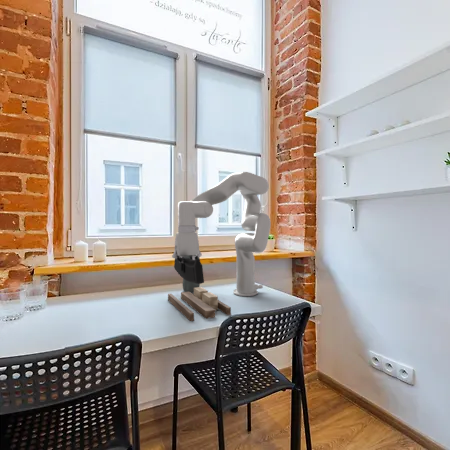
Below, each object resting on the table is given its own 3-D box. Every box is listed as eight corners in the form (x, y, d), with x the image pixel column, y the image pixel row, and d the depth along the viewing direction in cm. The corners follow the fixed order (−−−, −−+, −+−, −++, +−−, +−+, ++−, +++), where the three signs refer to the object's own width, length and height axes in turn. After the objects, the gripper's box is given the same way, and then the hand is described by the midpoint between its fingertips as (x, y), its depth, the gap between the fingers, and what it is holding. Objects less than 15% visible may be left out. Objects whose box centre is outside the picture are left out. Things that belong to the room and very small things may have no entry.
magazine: (206, 264, 115) (182, 236, 140) (198, 265, 113) (176, 237, 139) (202, 302, 120) (180, 269, 145) (194, 304, 119) (173, 270, 144)
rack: (201, 295, 151) (201, 290, 151) (230, 314, 122) (230, 307, 122) (168, 300, 143) (168, 293, 143) (190, 321, 115) (190, 313, 115)
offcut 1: (201, 299, 146) (201, 287, 145) (207, 303, 138) (207, 290, 138) (193, 300, 144) (193, 287, 144) (199, 304, 137) (199, 291, 136)
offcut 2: (210, 305, 136) (210, 292, 136) (217, 310, 129) (217, 296, 128) (202, 306, 134) (202, 293, 134) (209, 311, 127) (209, 297, 127)
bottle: (192, 288, 168) (192, 234, 167) (203, 290, 161) (203, 235, 161) (178, 290, 161) (178, 235, 160) (189, 294, 155) (189, 236, 154)
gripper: (201, 228, 137) (201, 268, 138) (166, 229, 130) (166, 271, 130) (207, 229, 130) (208, 271, 131) (170, 230, 123) (171, 275, 124)
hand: (187, 271), depth 131 cm, fingers closed on magazine, 3 cm apart
